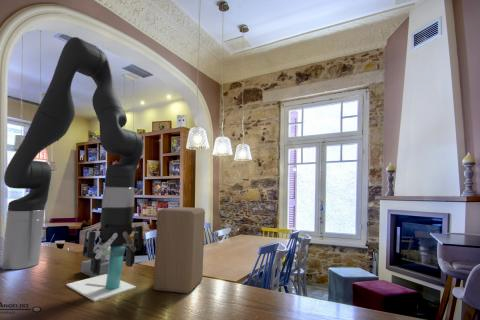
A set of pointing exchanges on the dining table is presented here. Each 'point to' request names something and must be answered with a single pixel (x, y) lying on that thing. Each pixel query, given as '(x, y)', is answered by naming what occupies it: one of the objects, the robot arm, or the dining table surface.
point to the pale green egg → (107, 252)
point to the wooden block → (179, 249)
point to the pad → (98, 288)
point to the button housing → (87, 264)
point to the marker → (115, 267)
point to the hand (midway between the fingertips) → (113, 270)
